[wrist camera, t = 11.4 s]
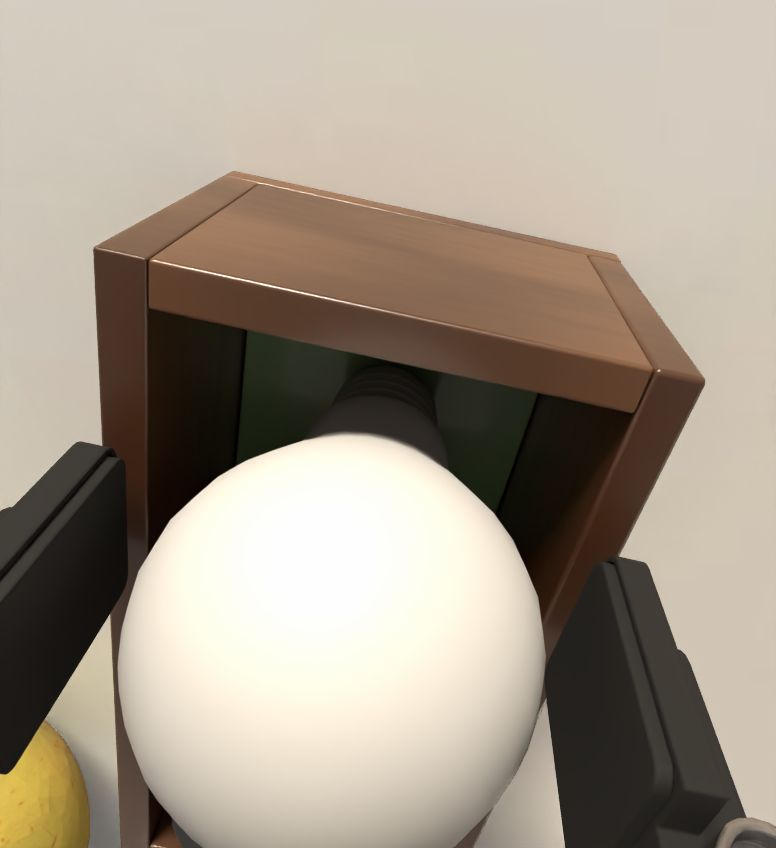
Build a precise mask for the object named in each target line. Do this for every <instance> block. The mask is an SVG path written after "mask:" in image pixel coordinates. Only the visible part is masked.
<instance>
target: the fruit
mask: <svg viewBox="0 0 776 848" xmlns="http://www.w3.org/2000/svg"><path fill="white" fill-rule="evenodd" d="M89 837H90V807H89V800H88V794H87V790H86V786H85V782H84V779H83V776H82V774H81V771H80V768H79V765H78V763H77V761H76V759H75V757H74V755H73V754H72V752H71V750H70V749H69V747H68V745H67V744H66V742H65V741H64V740H63V738H62V737H61V736H60V735H59V734H58V733H57V732H56V730H55V729H54V728H52V727H51V726H50V725H49V724H48V723H47V722H46V721H45V720H44V721H43V722H42V724H41V726H40V727H39V729H38V731H37V732H36V734H35V735H34V737H33V739H32V740H31V742H30V743H29V745H28V747H27V748H26V750H25V751H24V753H23V755H22V756H21V758H20V760H19V761H18V763H17V764H16V766H15V767H14V768H13V770H12V771H11V772H10V773H8V774H6V775H3V774H0V848H88V843H89Z"/></svg>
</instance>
